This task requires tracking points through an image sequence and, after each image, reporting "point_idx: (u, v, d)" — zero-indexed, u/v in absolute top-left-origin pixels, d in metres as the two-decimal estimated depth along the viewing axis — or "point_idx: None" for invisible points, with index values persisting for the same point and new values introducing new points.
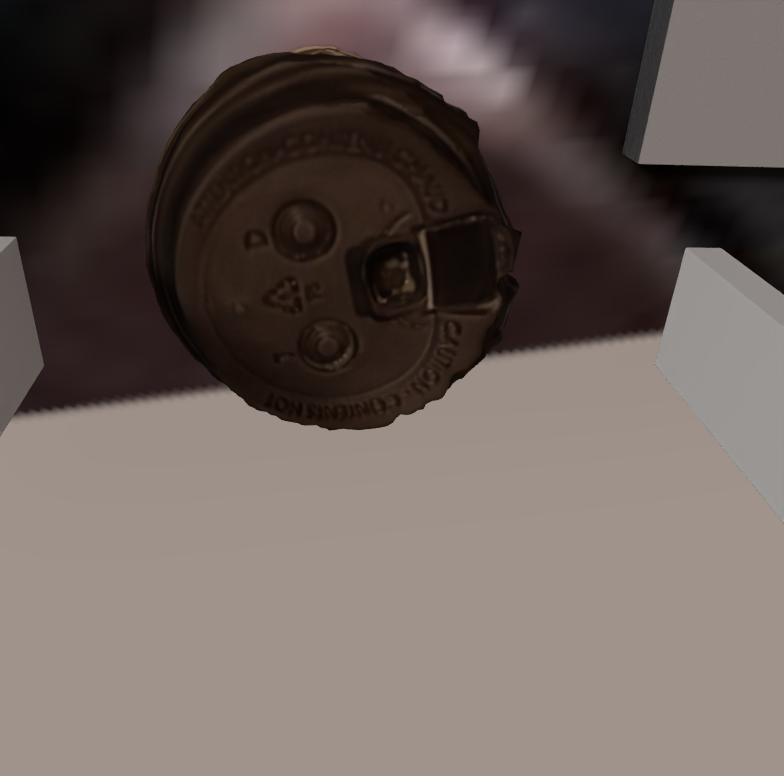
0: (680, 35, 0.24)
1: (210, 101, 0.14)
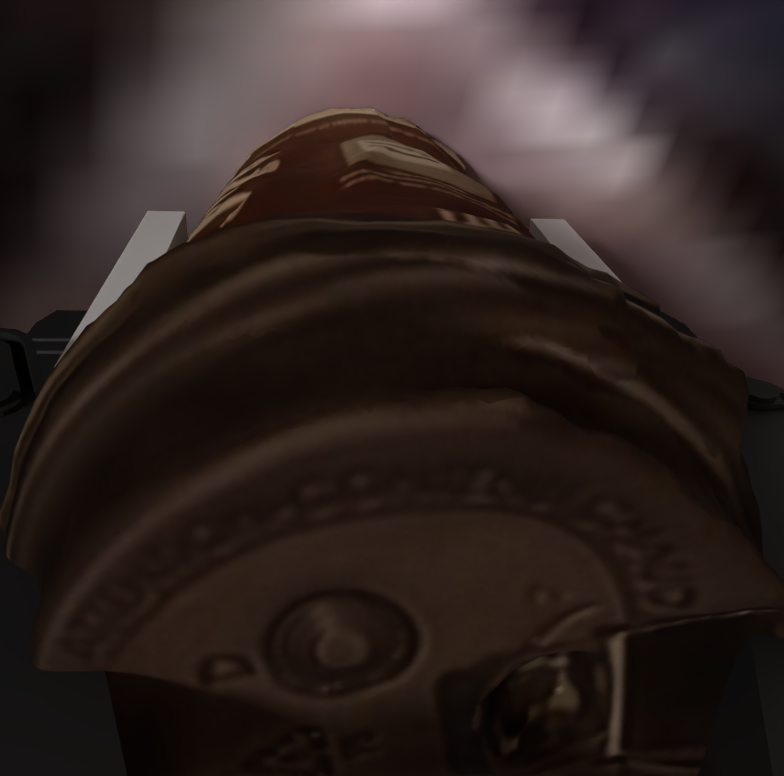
0: None
1: (118, 338, 0.06)
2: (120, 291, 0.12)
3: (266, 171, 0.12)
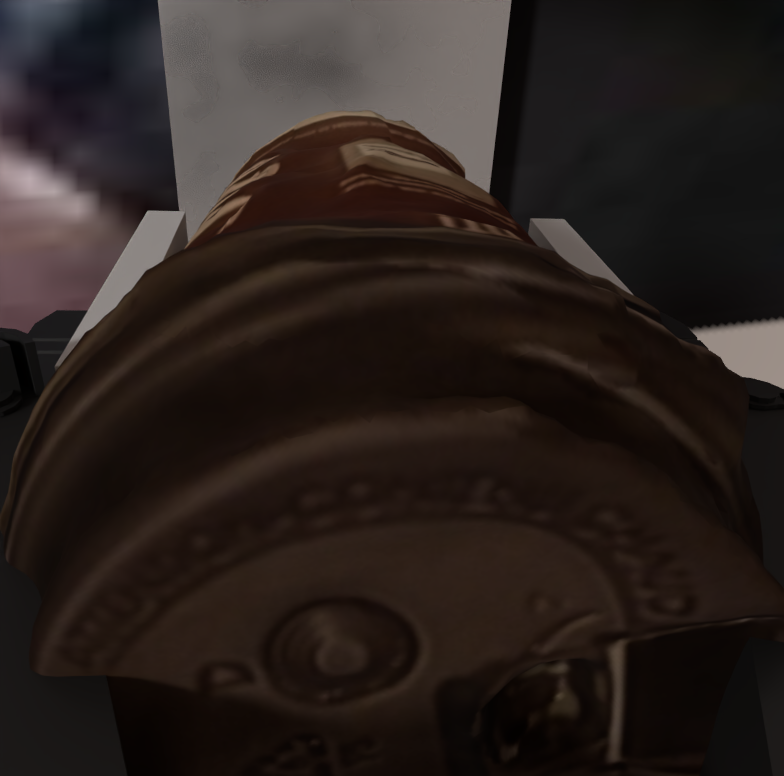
0: (186, 173, 0.32)
1: (117, 345, 0.06)
2: (120, 291, 0.12)
3: (266, 174, 0.12)
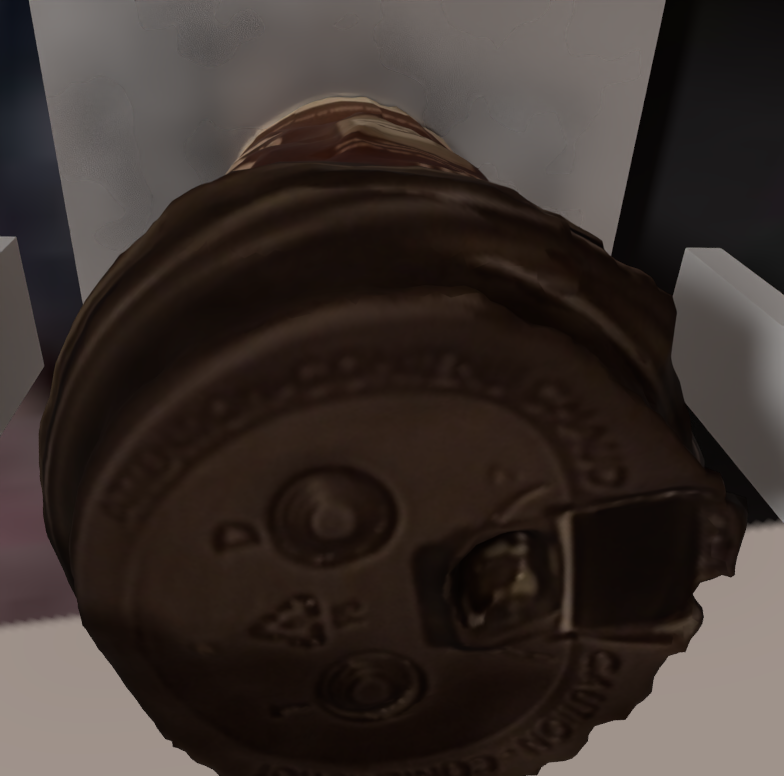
0: None
1: (148, 259, 0.07)
2: None
3: None
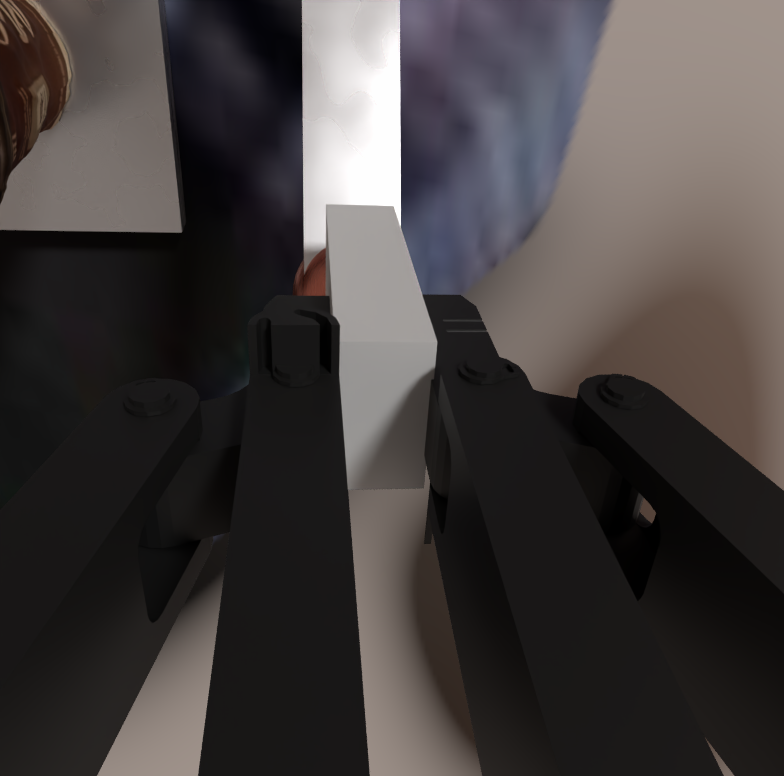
0: None
1: None
2: (349, 277, 0.13)
3: (21, 35, 0.26)
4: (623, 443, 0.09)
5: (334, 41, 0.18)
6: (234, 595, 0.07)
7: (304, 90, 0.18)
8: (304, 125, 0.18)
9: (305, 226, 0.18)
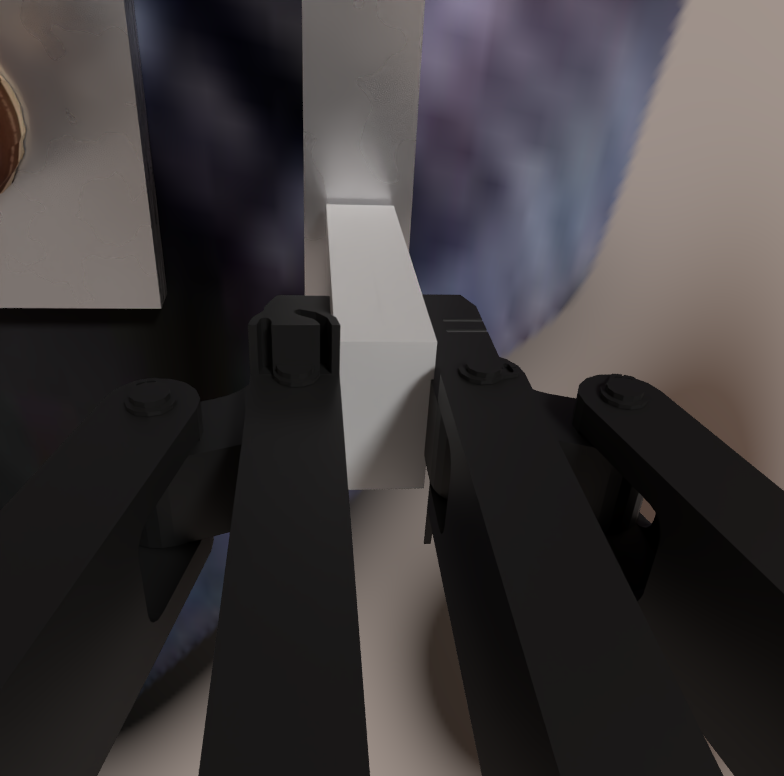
0: None
1: None
2: (349, 276, 0.13)
3: None
4: (623, 443, 0.09)
5: (340, 153, 0.16)
6: (235, 595, 0.07)
7: (306, 207, 0.16)
8: (306, 245, 0.17)
9: None
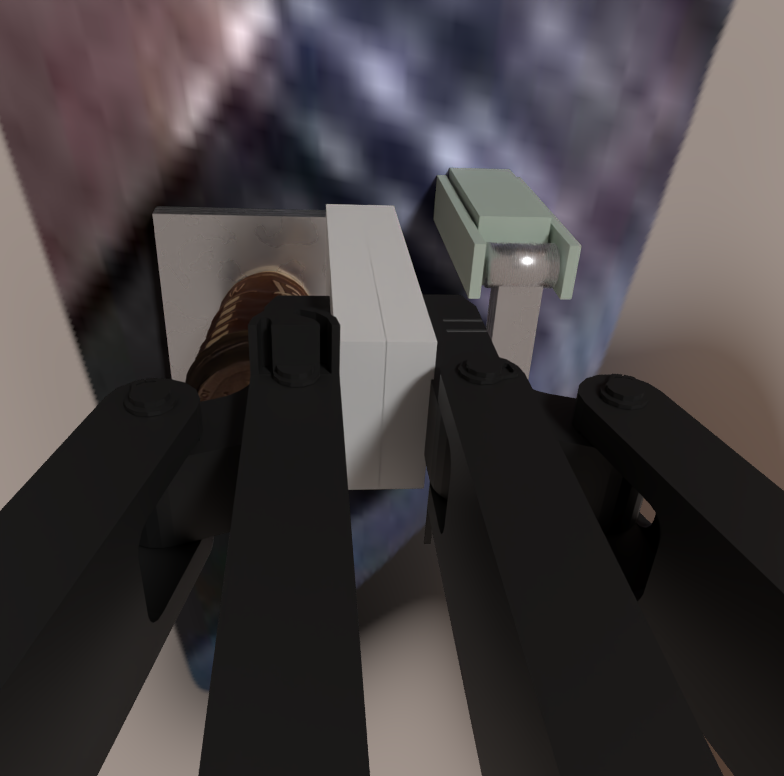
0: (220, 222, 0.47)
1: None
2: (349, 276, 0.13)
3: None
4: (623, 443, 0.09)
5: None
6: (234, 595, 0.07)
7: None
8: None
9: None
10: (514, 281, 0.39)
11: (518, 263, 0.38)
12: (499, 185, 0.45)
